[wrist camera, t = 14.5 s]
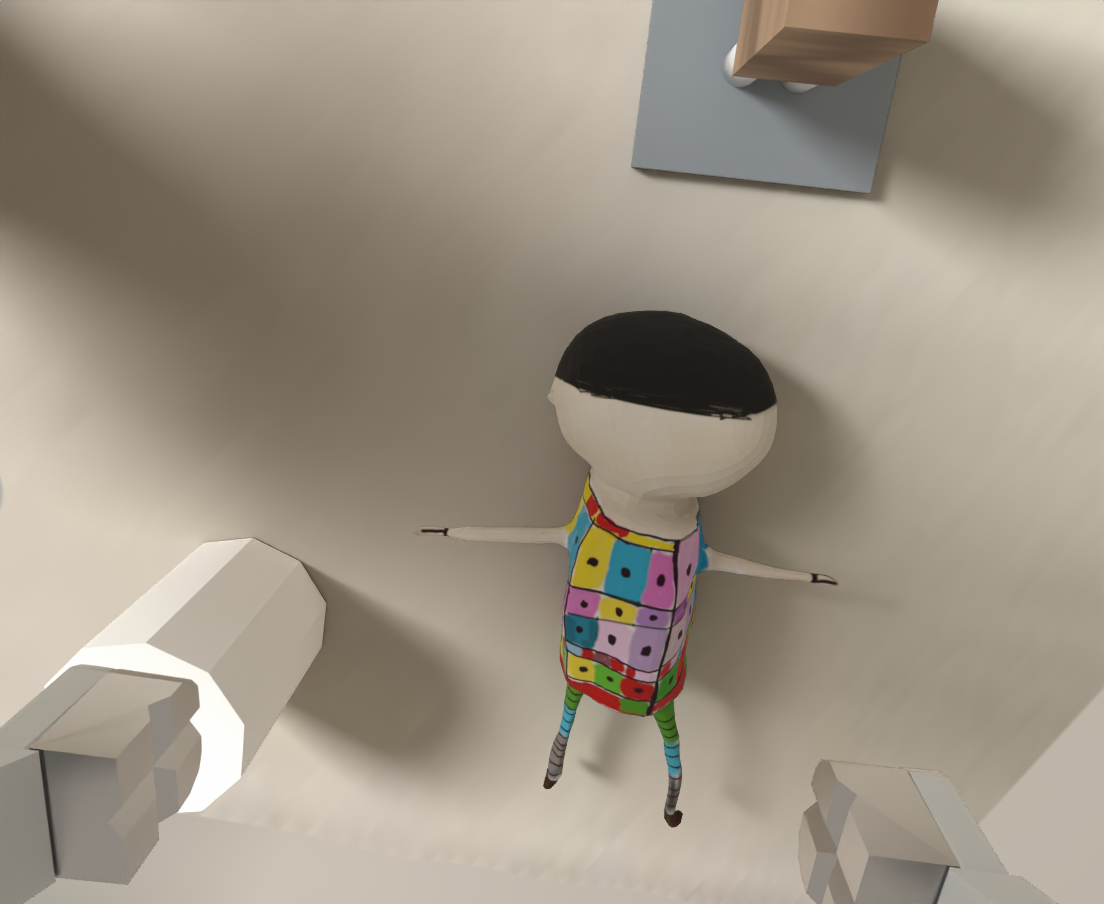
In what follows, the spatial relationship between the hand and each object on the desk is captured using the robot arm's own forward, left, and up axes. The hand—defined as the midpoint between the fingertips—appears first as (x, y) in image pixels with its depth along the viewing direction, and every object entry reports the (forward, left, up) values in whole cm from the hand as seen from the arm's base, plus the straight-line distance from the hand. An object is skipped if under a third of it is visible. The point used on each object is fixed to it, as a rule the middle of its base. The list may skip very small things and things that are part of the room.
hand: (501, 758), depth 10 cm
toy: (+6, -12, -34) cm, 37 cm away
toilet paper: (-15, -23, -34) cm, 44 cm away
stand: (+5, +17, -34) cm, 38 cm away
